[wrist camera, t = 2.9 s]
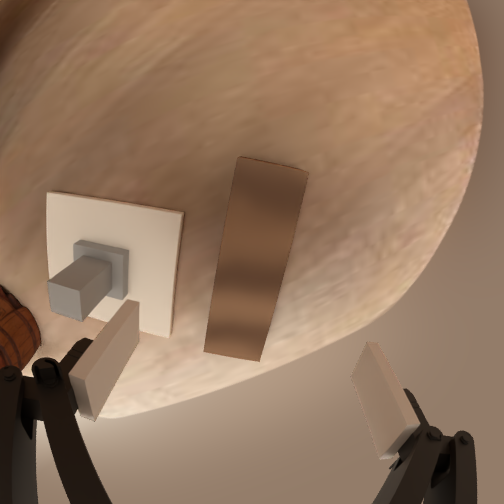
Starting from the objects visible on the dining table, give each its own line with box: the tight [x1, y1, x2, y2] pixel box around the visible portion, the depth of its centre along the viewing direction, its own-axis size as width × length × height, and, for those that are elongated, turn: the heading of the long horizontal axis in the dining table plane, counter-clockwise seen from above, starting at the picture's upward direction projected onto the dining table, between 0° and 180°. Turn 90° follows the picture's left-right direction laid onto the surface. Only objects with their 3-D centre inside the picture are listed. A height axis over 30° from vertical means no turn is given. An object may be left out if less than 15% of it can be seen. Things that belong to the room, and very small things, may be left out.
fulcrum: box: [46, 191, 184, 338], centre depth 25 cm, size 14×16×9 cm
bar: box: [204, 157, 309, 362], centre depth 27 cm, size 18×6×5 cm, turn 168°
